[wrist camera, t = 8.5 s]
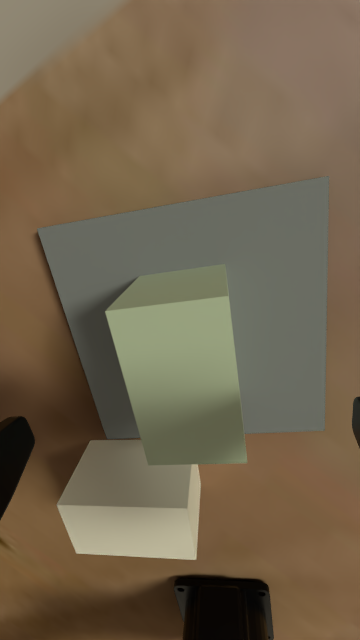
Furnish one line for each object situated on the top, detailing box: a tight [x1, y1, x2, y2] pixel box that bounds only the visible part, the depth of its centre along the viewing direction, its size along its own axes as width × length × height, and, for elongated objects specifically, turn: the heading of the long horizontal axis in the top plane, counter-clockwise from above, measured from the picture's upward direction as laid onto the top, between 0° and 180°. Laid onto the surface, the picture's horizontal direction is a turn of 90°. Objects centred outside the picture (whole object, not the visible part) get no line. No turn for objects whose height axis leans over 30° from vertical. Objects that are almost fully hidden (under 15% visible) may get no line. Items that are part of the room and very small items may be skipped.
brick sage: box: [105, 264, 247, 465], centre depth 11 cm, size 6×4×4 cm, turn 10°
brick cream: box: [57, 440, 201, 560], centre depth 15 cm, size 6×4×4 cm, turn 97°
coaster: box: [37, 176, 329, 439], centre depth 13 cm, size 11×11×1 cm
